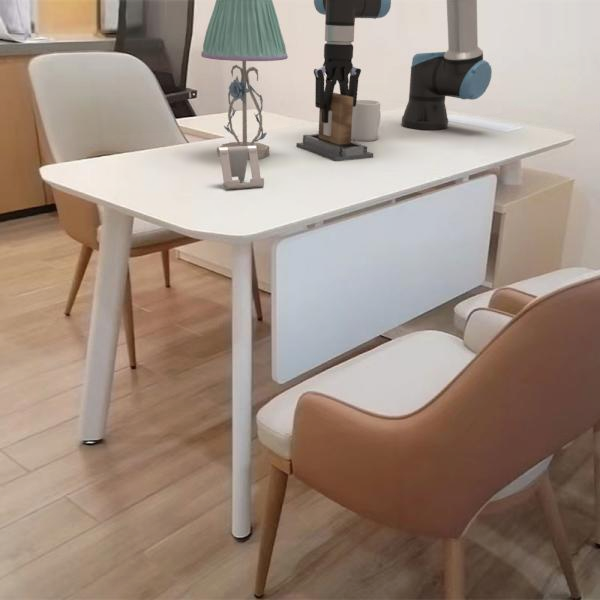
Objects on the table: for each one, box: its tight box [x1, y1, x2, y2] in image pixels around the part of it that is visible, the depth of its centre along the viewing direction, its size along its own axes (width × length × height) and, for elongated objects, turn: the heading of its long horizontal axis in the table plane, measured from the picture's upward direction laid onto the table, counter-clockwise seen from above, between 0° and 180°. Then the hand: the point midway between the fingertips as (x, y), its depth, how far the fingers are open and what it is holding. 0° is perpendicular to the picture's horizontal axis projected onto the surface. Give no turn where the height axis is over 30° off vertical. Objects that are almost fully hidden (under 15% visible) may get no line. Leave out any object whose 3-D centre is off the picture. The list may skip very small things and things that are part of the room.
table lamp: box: [200, 0, 289, 161], centre depth 186 cm, size 22×22×40 cm
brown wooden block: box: [318, 91, 353, 145], centre depth 197 cm, size 4×10×12 cm, turn 30°
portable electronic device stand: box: [216, 145, 265, 191], centre depth 163 cm, size 9×8×8 cm
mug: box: [351, 99, 381, 142], centre depth 218 cm, size 9×12×11 cm
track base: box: [296, 133, 374, 162], centre depth 200 cm, size 12×20×3 cm, turn 30°
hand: (334, 134), depth 199 cm, fingers closed on brown wooden block, 4 cm apart
